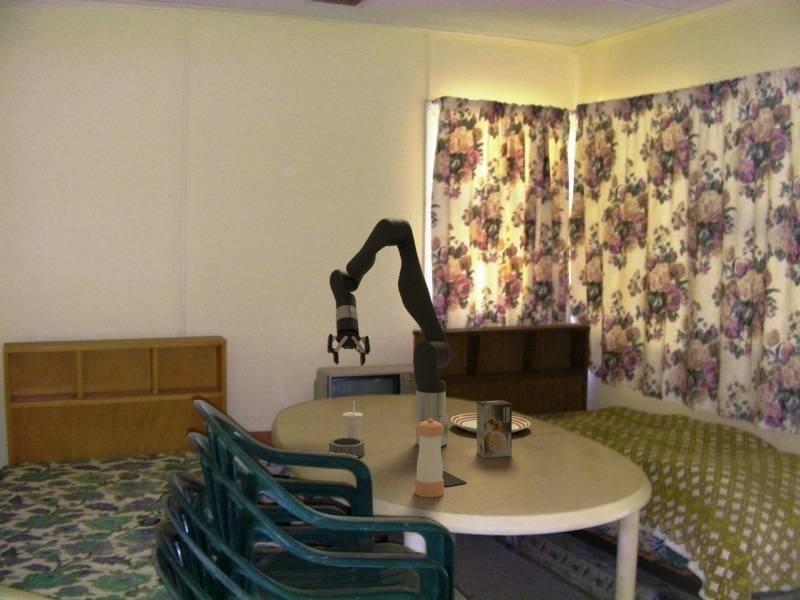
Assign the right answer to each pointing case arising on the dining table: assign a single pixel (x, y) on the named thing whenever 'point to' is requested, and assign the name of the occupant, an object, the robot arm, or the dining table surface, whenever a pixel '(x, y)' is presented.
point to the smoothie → (352, 423)
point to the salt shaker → (429, 460)
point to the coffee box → (494, 428)
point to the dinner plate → (470, 422)
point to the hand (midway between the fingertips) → (349, 364)
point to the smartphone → (451, 480)
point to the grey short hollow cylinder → (347, 446)
